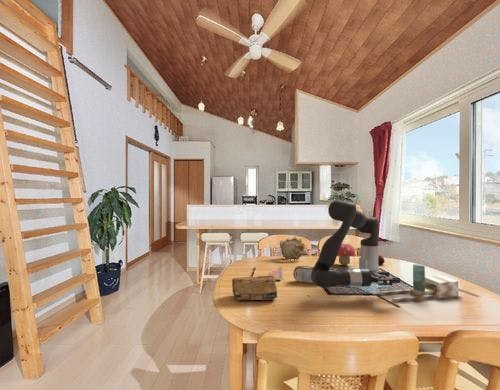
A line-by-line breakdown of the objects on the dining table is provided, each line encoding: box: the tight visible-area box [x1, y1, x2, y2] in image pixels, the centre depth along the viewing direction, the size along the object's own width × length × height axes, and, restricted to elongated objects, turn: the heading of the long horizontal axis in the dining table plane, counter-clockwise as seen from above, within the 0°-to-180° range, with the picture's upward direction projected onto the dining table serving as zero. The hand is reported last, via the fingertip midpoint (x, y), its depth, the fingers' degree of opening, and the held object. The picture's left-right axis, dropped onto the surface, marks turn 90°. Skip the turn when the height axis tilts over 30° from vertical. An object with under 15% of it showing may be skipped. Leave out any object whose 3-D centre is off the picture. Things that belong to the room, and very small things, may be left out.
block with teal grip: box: [409, 263, 437, 296], centre depth 118 cm, size 16×5×13 cm, turn 101°
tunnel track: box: [376, 274, 482, 309], centre depth 117 cm, size 42×13×8 cm, turn 101°
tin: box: [293, 265, 314, 284], centre depth 139 cm, size 15×3×8 cm, turn 71°
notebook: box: [267, 267, 283, 281], centre depth 156 cm, size 27×17×2 cm, turn 174°
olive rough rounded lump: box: [279, 236, 307, 261], centre depth 191 cm, size 18×18×15 cm
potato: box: [378, 254, 385, 266], centre depth 178 cm, size 7×8×6 cm
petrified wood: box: [231, 276, 278, 301], centre depth 119 cm, size 19×13×10 cm
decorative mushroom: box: [337, 242, 356, 267], centre depth 174 cm, size 13×13×15 cm
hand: (394, 277), depth 116 cm, fingers open, 8 cm apart
